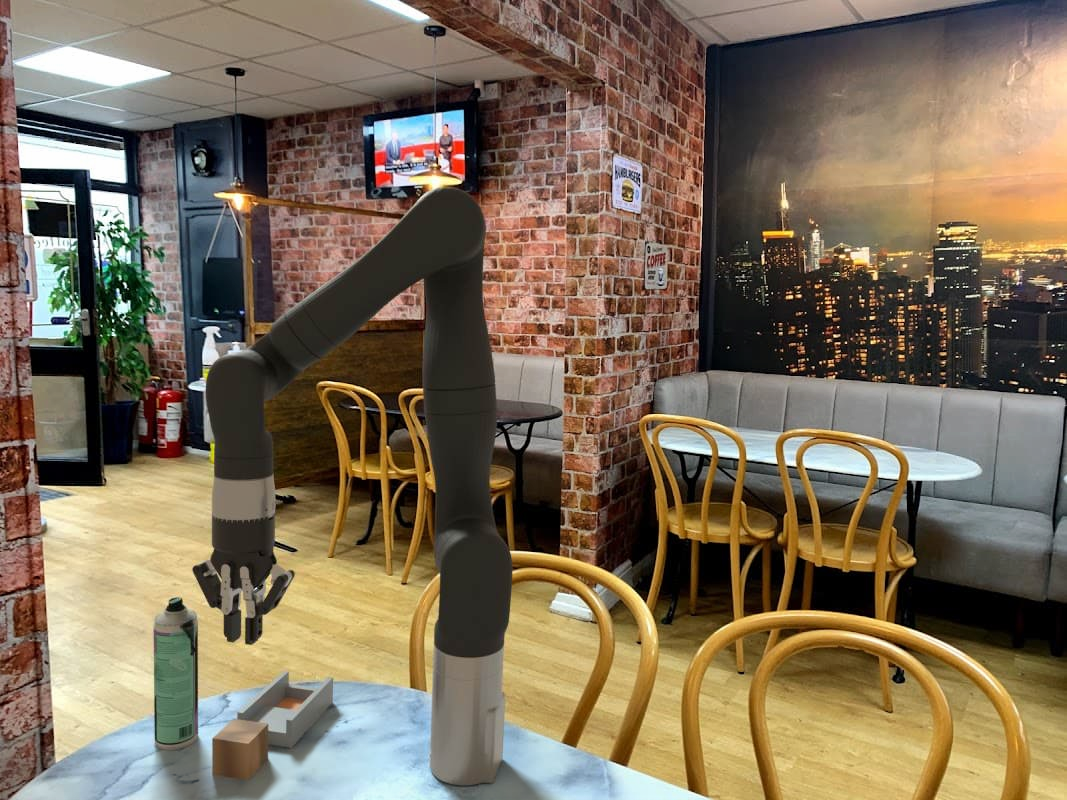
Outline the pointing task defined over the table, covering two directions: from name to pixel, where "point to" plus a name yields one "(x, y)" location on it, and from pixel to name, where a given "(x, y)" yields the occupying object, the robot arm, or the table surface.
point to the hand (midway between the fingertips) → (243, 640)
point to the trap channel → (288, 708)
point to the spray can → (175, 676)
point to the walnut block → (240, 749)
